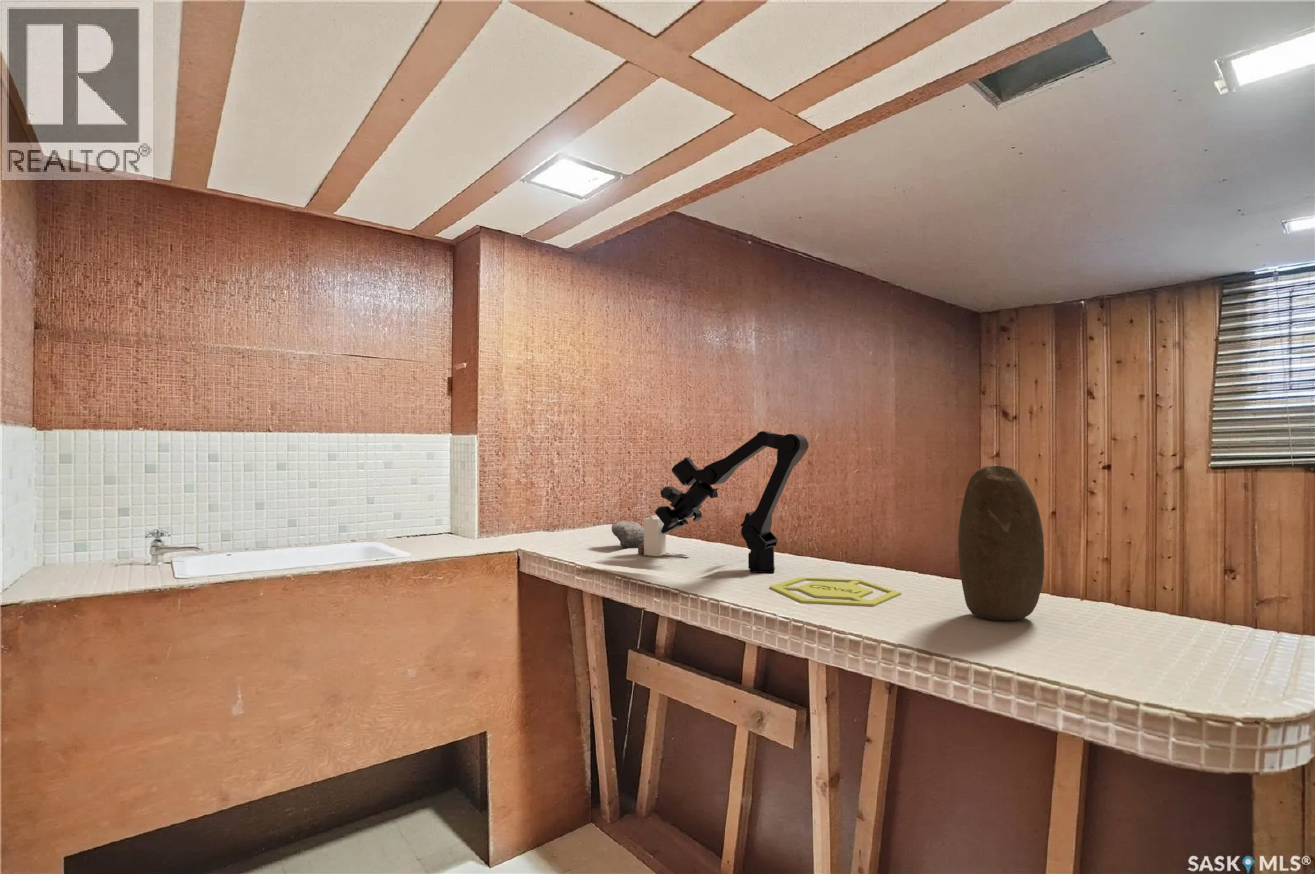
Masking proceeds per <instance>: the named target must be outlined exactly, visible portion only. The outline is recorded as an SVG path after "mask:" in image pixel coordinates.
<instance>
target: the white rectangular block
mask: <svg viewBox="0 0 1315 874" xmlns="http://www.w3.org/2000/svg"><path fill="white" fill-rule="evenodd" d="M663 525H664V523H663V522H662V521H661V520H660V518H659V517H658V516H657V515H656V514H654V515H650V516H649V517H645V518H643V527H644V555H645V556H646V555H648V556H651V557H654V556H655V557H656V556H657V557H661V556H660V555H664V554H666V553H667V542H666V541H667V537H666V536H667V533H665V534H663V533H662V532H661V530H662V528H663Z"/></svg>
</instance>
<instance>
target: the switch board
mask: <svg viewBox="0 0 1315 874" xmlns="http://www.w3.org/2000/svg"><path fill="white" fill-rule="evenodd" d="M637 552H638V553H637V555H638V556H640V557H648V558H653V559H654V558H656V559H664V560H670V561H671V560H675V559H685V560H686V559H689V558H691V557H690V556H689V557H688V556H687V554H681V553H673V552H672V553H669V552H666V554H664V555H660V556H651V555H644V546H641V547H638V548H637Z"/></svg>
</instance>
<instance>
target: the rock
mask: <svg viewBox="0 0 1315 874" xmlns="http://www.w3.org/2000/svg"><path fill="white" fill-rule="evenodd" d="M611 532H612V534H613V536H615V537H616V538H617V539H618V541H619V545H620V546H619V547H622V548H623V549H624V550H627V549H631V548H634V549H635V548H636V549H638V547H641V546H644V526H642V525H641V524H639V523H637V522H636V521H630V520H626V521H625V520H619V521H612V525H611Z"/></svg>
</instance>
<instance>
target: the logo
mask: <svg viewBox="0 0 1315 874" xmlns="http://www.w3.org/2000/svg"><path fill="white" fill-rule="evenodd" d="M805 581H806V582H807V581H809V582H808V583H806V584H802V585H799V586H793V585H796V584H799V583H802V582H805ZM810 581H811V582H810ZM859 584H862V585H865V586H868V587H871V588H874V589H877V590H880V591H883V592H884V593H885V594H883V595H879V596H877V597H875V598H873V599H870V600H868V599H867V598H864V597H867V596H869V595H872V594H874V590H873V589H869V588H866V587H863V586H861V585H859ZM769 589H770V590H772V591H775V592H777V593H780V594H782V595H783V596H786V597H788V598H790V599H792V600H795V601H797V602H799V603H801V604H813V605H814V604H816V605H832V606H833V605H834V606H835V605H837V606H839V605H840V606H856V607H858V606H859V607H878V605H881V604H883V603H886V602H888V601H891V600H893V599H895V598H897V597H899V596H901V595H903V593H901V592H900V591H897V590H894V589H891V588H888V587H884V586H882V585H879V584H876V583H873V582H869V581H867V580H863V579H861V578H860V579H855V578H854V579H853V578H852V579H851V578H832V577H830V578H829V577H828V578H827V577H806V576H802V577H801V576H799V577H795V578H792V579H789V580H784V581H782V582H779V583H776V584H772V585H769ZM793 591H798V592H801V593H803V594H806V595H808V596H810V597H813V598H806V597H804V596H802V595H800V594H797V593H795V592H793Z"/></svg>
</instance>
